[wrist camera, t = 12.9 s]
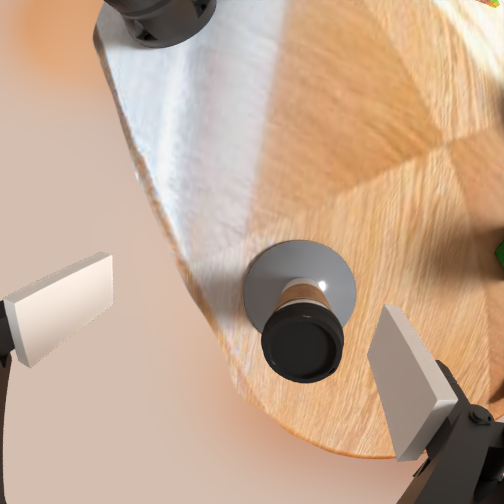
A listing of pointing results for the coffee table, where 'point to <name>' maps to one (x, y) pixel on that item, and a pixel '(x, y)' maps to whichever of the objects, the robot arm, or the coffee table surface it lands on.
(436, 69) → the coffee table surface
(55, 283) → the robot arm
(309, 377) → the coffee cup
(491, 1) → the game box
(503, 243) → the milk carton
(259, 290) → the disc
